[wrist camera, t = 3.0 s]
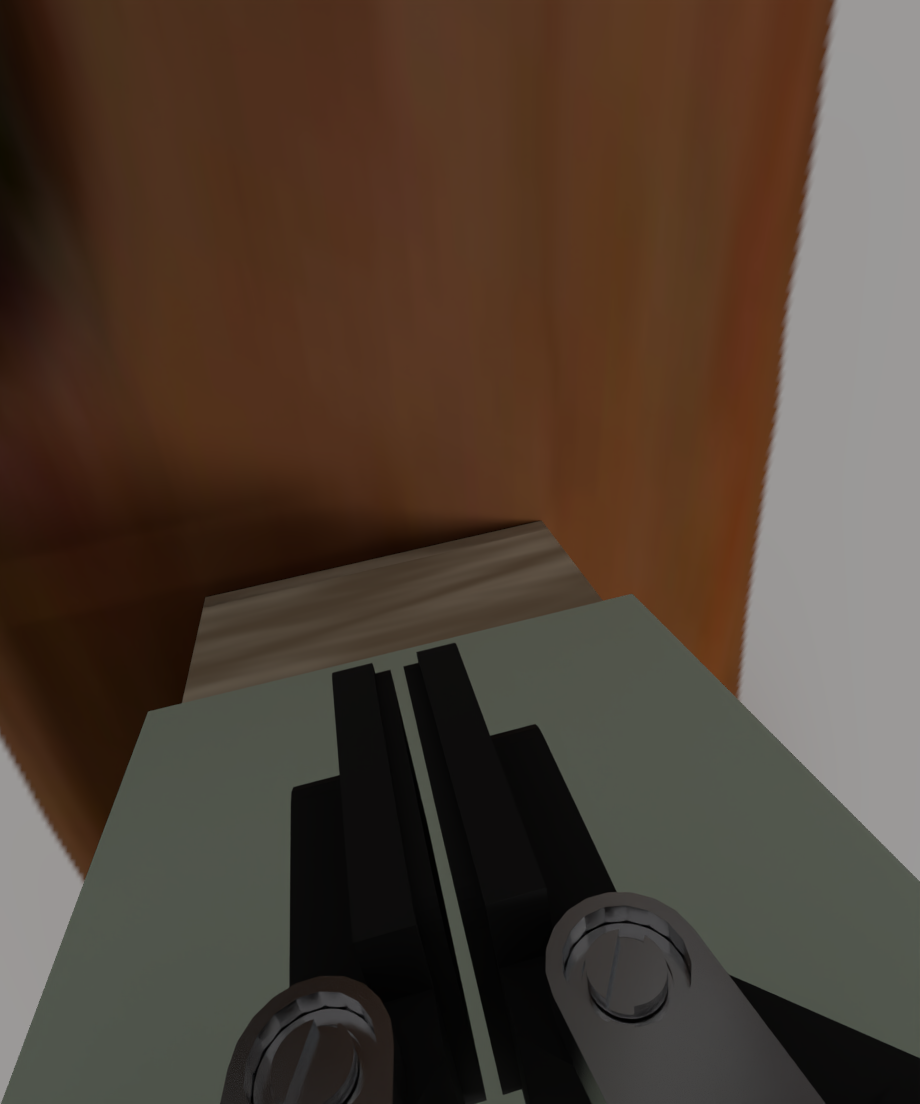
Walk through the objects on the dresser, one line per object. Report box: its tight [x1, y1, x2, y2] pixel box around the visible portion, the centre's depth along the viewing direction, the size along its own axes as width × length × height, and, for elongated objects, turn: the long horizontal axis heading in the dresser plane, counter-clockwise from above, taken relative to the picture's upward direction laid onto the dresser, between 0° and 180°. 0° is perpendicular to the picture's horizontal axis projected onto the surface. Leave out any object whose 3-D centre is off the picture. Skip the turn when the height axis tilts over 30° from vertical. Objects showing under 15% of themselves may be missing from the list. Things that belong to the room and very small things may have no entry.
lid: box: [1, 594, 920, 1104], centre depth 16 cm, size 20×17×3 cm
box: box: [182, 521, 603, 703], centre depth 34 cm, size 18×16×10 cm
